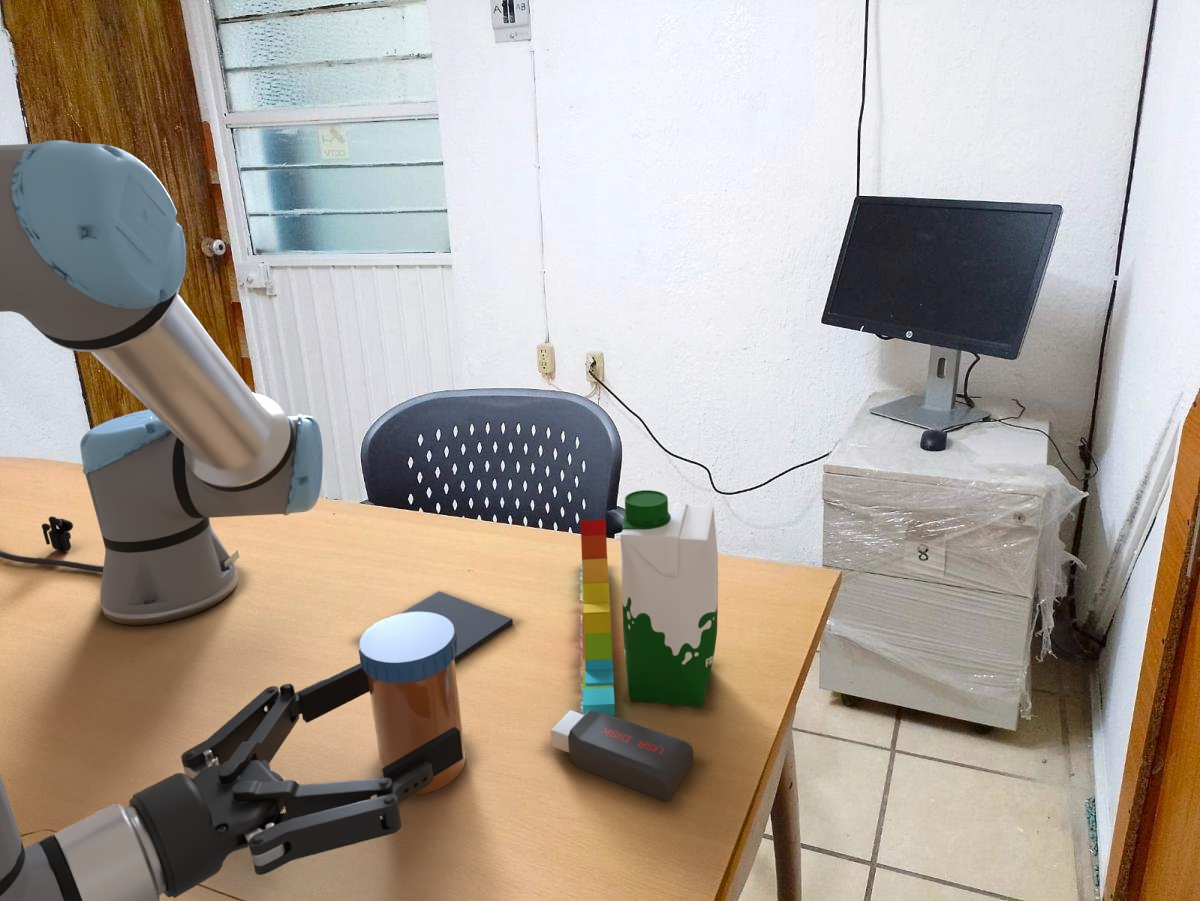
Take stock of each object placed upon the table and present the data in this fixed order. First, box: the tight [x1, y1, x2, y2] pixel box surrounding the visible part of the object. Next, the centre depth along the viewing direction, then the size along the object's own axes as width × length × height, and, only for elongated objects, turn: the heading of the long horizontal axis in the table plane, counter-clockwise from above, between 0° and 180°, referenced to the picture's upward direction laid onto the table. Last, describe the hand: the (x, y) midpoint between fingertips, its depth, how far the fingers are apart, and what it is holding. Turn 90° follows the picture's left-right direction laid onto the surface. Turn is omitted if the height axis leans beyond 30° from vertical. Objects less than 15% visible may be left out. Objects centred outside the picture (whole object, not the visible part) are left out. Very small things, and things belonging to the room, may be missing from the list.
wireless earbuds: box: [41, 516, 74, 553], centre depth 117 cm, size 7×2×5 cm, turn 59°
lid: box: [358, 612, 457, 683], centre depth 69 cm, size 8×8×2 cm
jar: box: [367, 660, 466, 795], centre depth 71 cm, size 7×7×13 cm
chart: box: [579, 519, 616, 717], centre depth 89 cm, size 30×3×15 cm, turn 1°
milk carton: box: [619, 489, 719, 708], centre depth 79 cm, size 9×9×20 cm
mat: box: [399, 590, 514, 663], centre depth 93 cm, size 12×12×1 cm
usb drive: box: [550, 709, 695, 803], centre depth 72 cm, size 5×12×3 cm, turn 59°
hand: (412, 706), depth 70 cm, fingers open, 13 cm apart
